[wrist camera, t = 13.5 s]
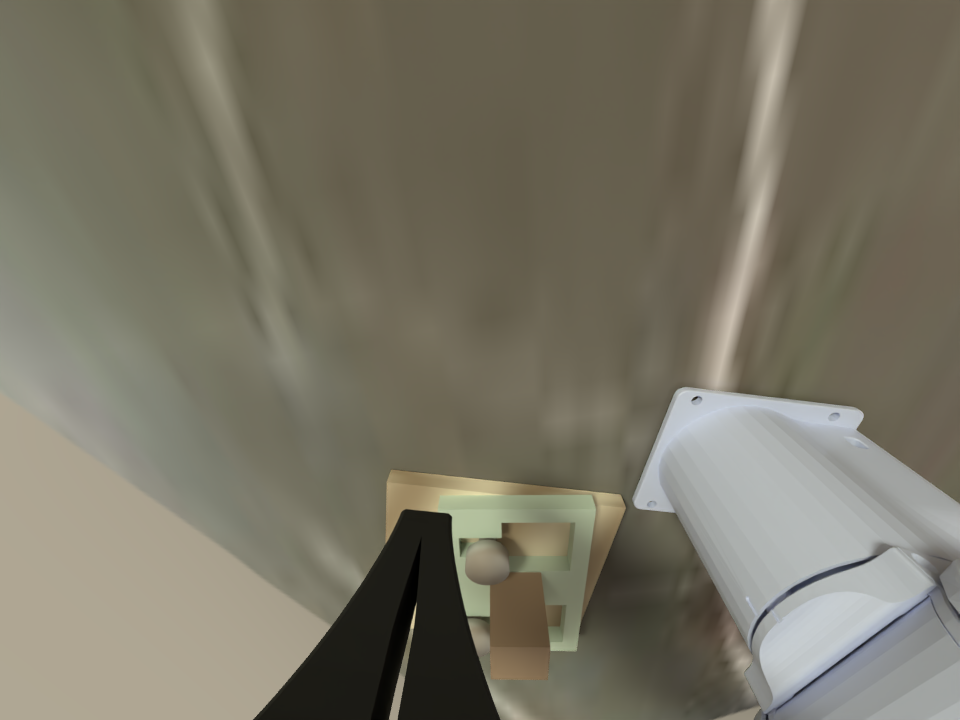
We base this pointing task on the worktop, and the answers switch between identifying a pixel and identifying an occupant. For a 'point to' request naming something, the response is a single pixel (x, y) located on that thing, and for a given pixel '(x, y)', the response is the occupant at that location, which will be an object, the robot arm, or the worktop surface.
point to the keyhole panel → (553, 566)
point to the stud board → (505, 533)
